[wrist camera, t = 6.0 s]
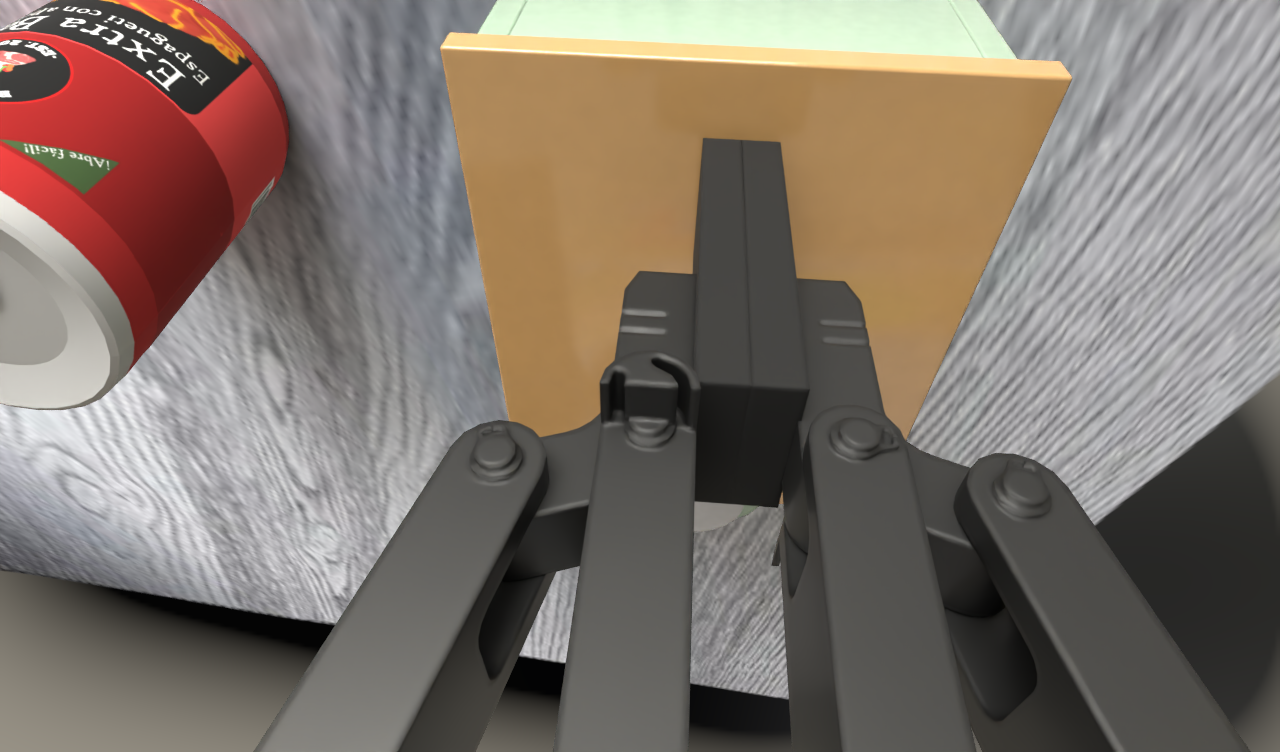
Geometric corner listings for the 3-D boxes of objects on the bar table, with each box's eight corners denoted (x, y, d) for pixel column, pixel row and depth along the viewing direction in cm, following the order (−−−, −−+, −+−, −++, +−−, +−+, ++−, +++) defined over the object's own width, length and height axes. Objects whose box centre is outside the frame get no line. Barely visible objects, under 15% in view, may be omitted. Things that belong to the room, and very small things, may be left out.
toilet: (535, -67, 20) (458, 61, 14) (944, -50, 20) (1040, 90, 14) (563, 299, 30) (524, 467, 24) (840, 316, 30) (871, 492, 24)
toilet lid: (447, 31, 14) (438, 46, 13) (1062, 59, 13) (1075, 76, 13) (524, 468, 24) (520, 485, 24) (871, 493, 24) (874, 511, 23)
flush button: (636, 494, 32) (633, 528, 31) (637, 430, 29) (634, 465, 27) (737, 501, 32) (737, 536, 30) (749, 437, 28) (751, 473, 27)
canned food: (271, -5, 22) (37, 187, 15) (316, 214, 28) (164, 433, 20) (13, -52, 22) (-367, 119, 14) (112, 179, 28) (-121, 390, 20)
